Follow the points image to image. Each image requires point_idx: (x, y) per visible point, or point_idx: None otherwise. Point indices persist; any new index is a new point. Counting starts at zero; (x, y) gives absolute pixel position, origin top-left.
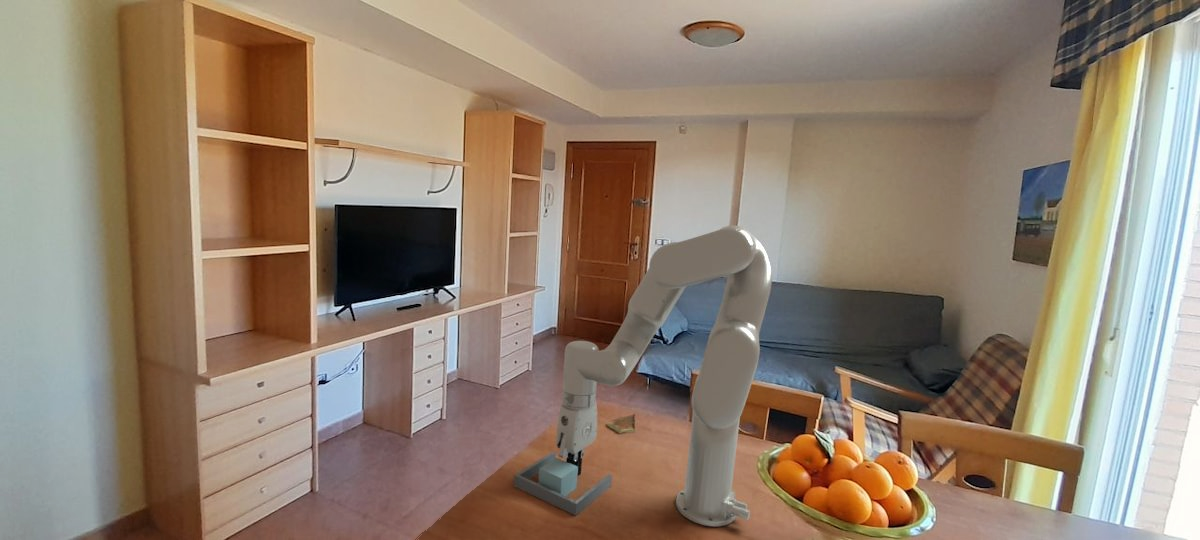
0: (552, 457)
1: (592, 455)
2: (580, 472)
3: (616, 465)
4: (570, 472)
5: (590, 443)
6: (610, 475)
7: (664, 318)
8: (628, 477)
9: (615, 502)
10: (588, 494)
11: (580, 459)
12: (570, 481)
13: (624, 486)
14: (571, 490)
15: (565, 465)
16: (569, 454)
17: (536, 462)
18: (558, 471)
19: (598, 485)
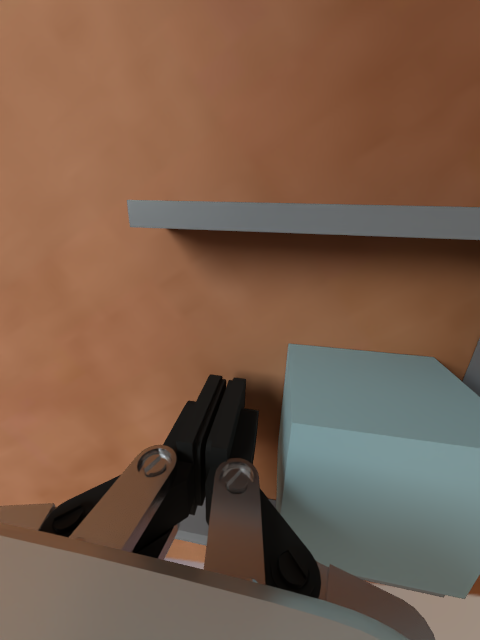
0: (191, 515)
1: (42, 396)
2: (213, 380)
3: (12, 279)
4: (405, 435)
5: (14, 547)
6: (137, 207)
7: None
8: (36, 168)
9: (291, 77)
10: (460, 207)
11: (193, 444)
12: (369, 384)
13: (116, 135)
14: (335, 350)
15: (331, 494)
16: (317, 589)
17: None
18: (443, 505)
19: (298, 211)
